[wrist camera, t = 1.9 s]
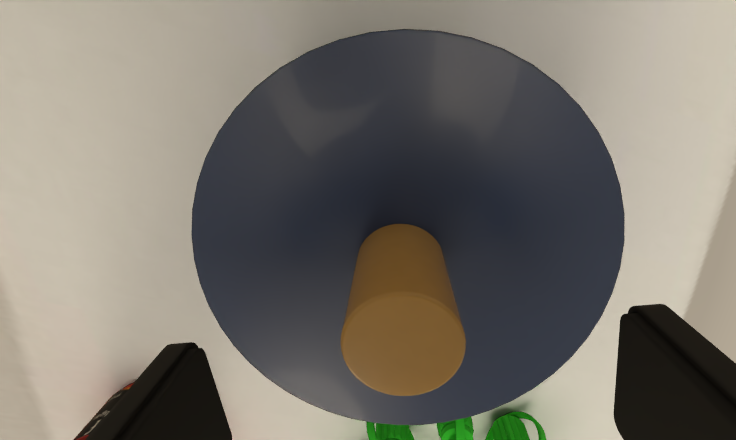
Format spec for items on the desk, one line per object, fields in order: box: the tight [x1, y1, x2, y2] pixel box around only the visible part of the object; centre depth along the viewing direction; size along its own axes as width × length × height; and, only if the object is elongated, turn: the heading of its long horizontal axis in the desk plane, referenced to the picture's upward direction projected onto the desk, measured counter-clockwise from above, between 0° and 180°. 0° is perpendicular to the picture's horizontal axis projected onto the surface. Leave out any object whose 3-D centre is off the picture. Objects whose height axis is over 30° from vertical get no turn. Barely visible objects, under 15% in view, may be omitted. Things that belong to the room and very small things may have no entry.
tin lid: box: [192, 29, 624, 425], centre depth 12 cm, size 15×15×6 cm
